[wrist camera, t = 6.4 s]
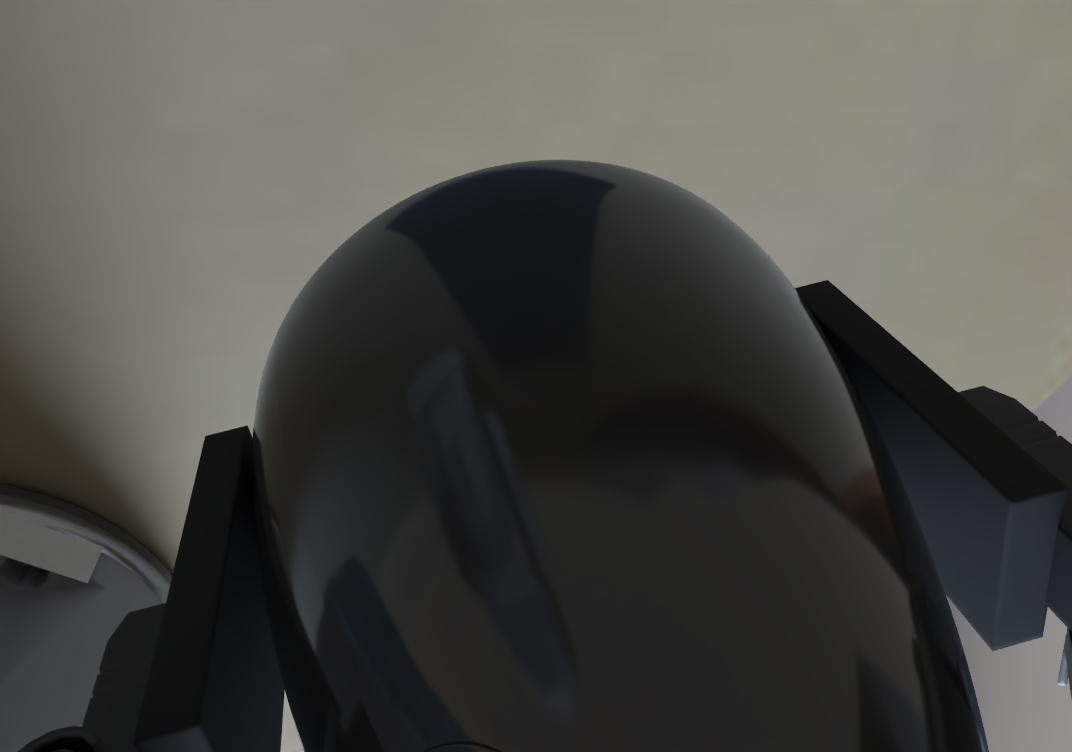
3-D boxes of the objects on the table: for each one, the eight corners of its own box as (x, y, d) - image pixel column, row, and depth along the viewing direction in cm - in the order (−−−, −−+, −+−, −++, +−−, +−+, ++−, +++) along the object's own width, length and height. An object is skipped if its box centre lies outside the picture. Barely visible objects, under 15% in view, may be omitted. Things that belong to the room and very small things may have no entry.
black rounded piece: (387, -1, 16) (581, 574, 3) (815, 236, 20) (1678, 920, 7) (188, 441, 20) (-105, 1562, 7) (585, 568, 24) (881, 1424, 11)
